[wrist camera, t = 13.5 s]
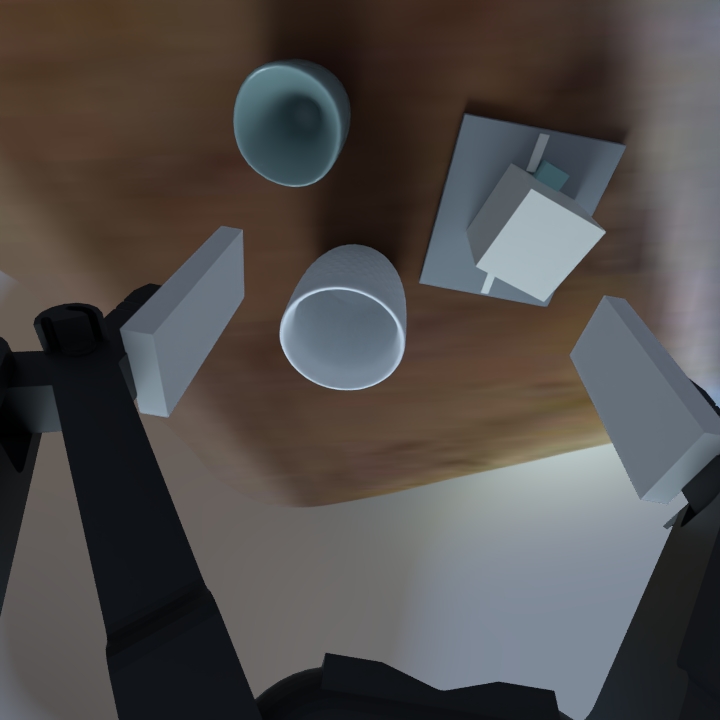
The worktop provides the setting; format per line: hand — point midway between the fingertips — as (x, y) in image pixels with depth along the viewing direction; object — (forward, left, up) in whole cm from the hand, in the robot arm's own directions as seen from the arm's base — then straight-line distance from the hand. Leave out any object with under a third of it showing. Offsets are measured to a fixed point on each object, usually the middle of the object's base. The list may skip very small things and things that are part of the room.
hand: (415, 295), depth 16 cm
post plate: (+5, +11, -29) cm, 31 cm away
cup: (-1, -9, -29) cm, 30 cm away
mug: (+15, -3, -29) cm, 33 cm away
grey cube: (+4, +11, -28) cm, 30 cm away
